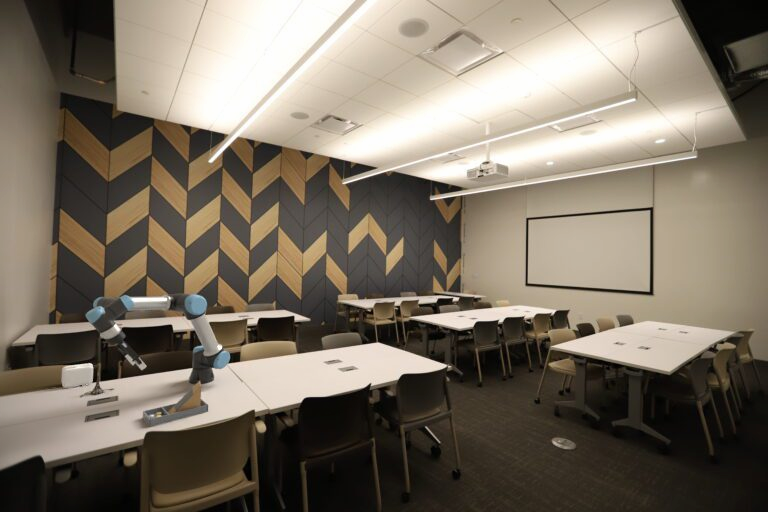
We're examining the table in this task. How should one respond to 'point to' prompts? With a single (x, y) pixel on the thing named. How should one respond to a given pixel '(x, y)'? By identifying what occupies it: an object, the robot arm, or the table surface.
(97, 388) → the eiffel tower figurine
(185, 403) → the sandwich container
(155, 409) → the parts tub
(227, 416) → the table surface
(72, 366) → the cable organizer
